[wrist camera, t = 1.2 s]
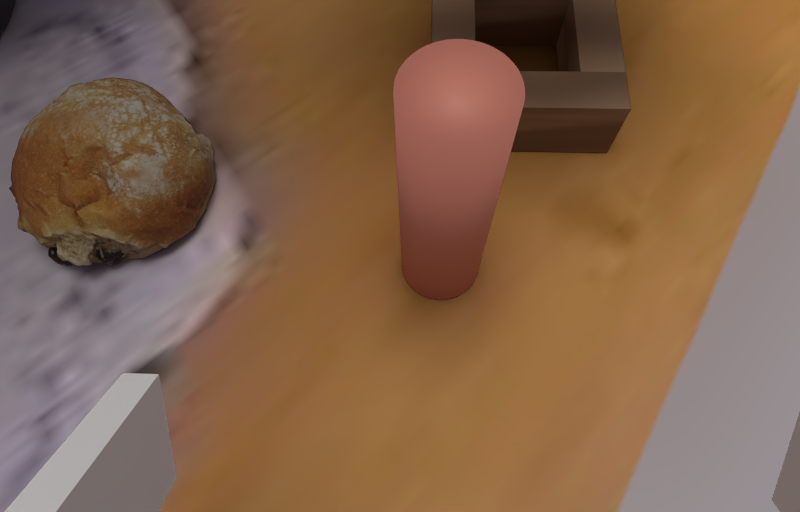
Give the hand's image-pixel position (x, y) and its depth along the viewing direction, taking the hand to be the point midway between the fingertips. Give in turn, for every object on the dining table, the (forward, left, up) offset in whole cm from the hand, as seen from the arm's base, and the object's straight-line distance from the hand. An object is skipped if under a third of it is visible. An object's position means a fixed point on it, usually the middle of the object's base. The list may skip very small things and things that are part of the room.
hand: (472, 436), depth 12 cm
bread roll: (-20, -10, -16) cm, 28 cm away
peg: (-9, +4, -16) cm, 19 cm away
